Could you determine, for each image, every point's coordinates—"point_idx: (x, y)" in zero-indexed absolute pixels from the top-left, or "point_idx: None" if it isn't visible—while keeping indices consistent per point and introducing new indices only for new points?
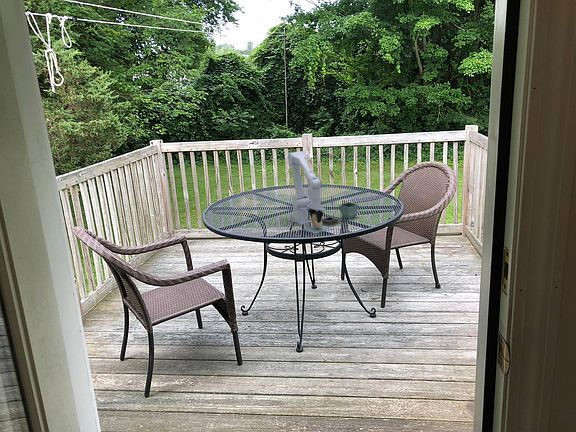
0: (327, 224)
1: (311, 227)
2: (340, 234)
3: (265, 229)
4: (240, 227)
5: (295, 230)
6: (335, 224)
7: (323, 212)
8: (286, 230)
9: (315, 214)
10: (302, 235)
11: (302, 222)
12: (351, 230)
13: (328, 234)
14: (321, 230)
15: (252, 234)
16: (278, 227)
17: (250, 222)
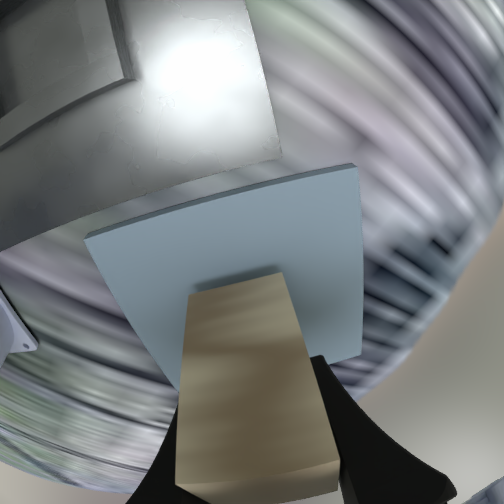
0: (148, 116)
1: (171, 336)
2: (499, 183)
3: (98, 458)
4: (59, 469)
5: (167, 413)
6: (226, 9)
7: (439, 479)
8: (145, 434)
9: (287, 500)
10: None
11: (11, 336)
12: (487, 29)
13: (436, 267)
14: (335, 295)
15: None
16: (76, 432)
17: (4, 438)
